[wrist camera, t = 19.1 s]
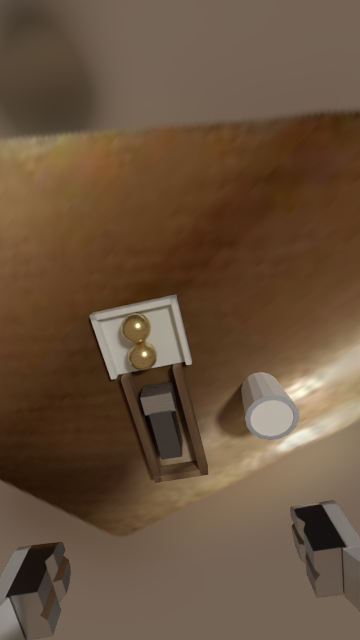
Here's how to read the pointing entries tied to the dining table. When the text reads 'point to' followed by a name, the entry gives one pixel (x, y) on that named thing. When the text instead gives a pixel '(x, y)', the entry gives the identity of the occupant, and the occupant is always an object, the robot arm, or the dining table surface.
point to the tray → (163, 337)
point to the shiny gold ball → (136, 328)
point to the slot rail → (146, 438)
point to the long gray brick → (163, 418)
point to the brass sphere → (142, 355)
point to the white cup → (267, 407)
